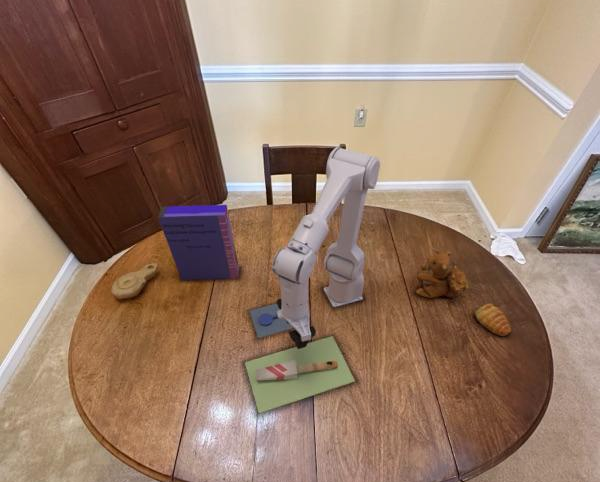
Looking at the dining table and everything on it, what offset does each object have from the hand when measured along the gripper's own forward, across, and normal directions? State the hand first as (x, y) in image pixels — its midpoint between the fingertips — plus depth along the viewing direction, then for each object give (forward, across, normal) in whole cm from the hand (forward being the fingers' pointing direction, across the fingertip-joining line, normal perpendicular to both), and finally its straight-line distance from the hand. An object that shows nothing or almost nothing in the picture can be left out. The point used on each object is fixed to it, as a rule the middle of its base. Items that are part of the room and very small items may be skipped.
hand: (296, 333), depth 83 cm
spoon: (+9, -13, 0) cm, 16 cm away
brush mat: (+9, +5, -1) cm, 11 cm away
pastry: (+10, +8, +54) cm, 55 cm away
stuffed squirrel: (+10, -7, +47) cm, 48 cm away
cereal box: (+10, -37, -16) cm, 42 cm away
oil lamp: (+10, -39, -38) cm, 56 cm away
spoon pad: (+9, -13, -1) cm, 16 cm away
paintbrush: (+9, +5, -2) cm, 11 cm away
